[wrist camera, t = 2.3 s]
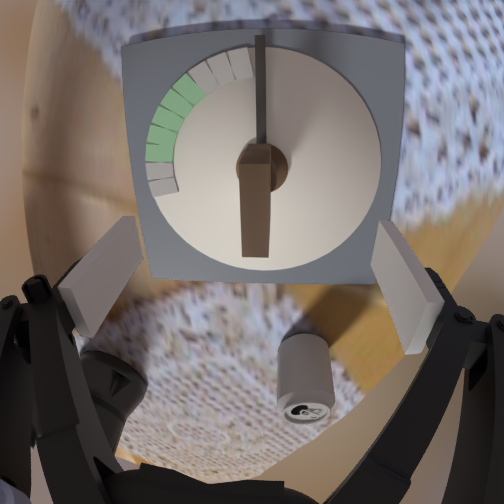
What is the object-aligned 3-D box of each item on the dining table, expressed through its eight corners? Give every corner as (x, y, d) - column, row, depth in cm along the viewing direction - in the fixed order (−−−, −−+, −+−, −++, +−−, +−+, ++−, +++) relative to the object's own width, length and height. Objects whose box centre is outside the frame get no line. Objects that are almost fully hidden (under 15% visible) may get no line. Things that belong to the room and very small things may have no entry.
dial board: (155, 273, 38) (150, 280, 37) (126, 47, 24) (119, 46, 23) (373, 278, 36) (376, 286, 35) (399, 45, 22) (406, 43, 20)
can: (292, 323, 41) (294, 395, 31) (337, 337, 42) (348, 406, 32) (269, 354, 45) (266, 422, 34) (311, 366, 46) (316, 431, 35)
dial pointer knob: (237, 197, 30) (218, 256, 21) (232, 38, 22) (206, 7, 12) (287, 198, 30) (292, 258, 20) (288, 37, 22) (296, 4, 12)
